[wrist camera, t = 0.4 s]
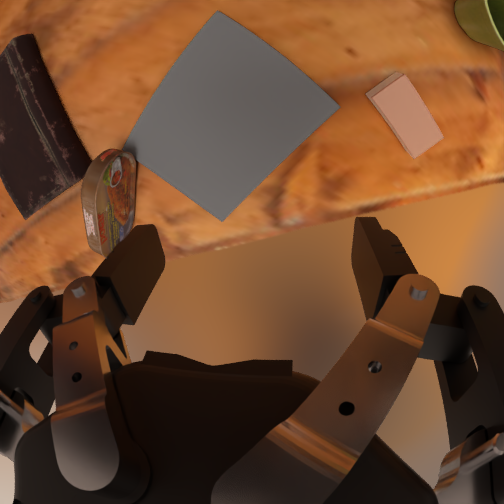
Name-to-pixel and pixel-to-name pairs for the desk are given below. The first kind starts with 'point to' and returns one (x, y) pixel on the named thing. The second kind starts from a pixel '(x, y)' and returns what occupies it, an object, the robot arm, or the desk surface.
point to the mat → (226, 116)
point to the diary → (34, 131)
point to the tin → (109, 199)
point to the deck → (405, 114)
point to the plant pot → (482, 20)
